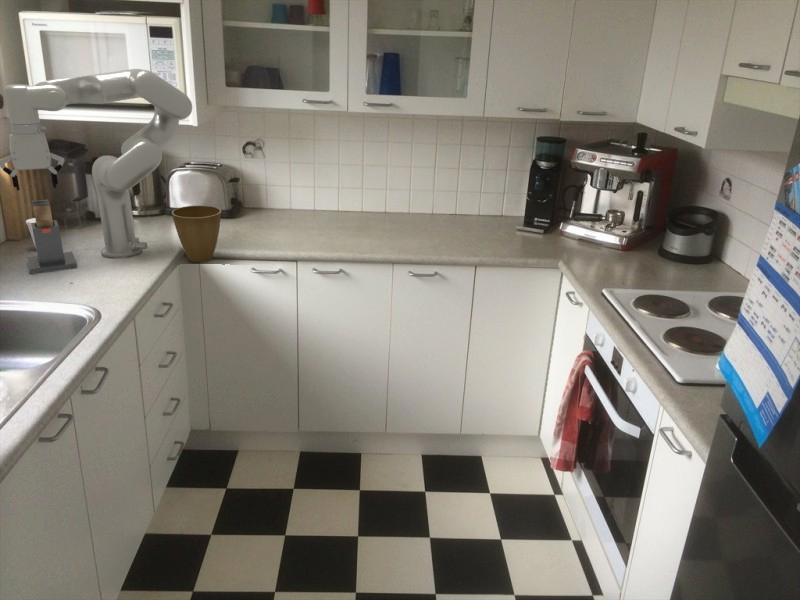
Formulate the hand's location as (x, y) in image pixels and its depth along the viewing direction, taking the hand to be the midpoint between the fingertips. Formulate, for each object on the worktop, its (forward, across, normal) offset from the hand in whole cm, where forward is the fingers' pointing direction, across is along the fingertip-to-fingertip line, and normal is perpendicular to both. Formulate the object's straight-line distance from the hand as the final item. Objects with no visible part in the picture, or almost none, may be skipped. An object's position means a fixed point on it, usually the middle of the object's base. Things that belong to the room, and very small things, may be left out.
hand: (36, 188), depth 196 cm
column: (+23, -1, 0) cm, 23 cm away
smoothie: (+24, +1, -20) cm, 32 cm away
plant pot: (+24, -43, +15) cm, 51 cm away
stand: (+24, -1, 0) cm, 24 cm away
